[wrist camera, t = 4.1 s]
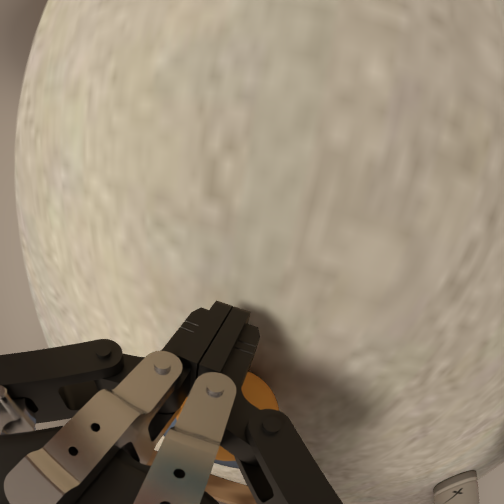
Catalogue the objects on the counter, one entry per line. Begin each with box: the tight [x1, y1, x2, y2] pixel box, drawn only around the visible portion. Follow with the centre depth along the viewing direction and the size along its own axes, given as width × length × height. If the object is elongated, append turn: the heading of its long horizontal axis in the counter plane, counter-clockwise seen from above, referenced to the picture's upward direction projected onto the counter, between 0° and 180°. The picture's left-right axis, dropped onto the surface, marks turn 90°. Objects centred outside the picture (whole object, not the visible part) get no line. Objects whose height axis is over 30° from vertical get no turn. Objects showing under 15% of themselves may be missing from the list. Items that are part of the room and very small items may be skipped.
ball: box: [176, 371, 279, 461], centre depth 13 cm, size 6×6×6 cm
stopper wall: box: [146, 450, 257, 504], centre depth 24 cm, size 20×2×3 cm, turn 78°
